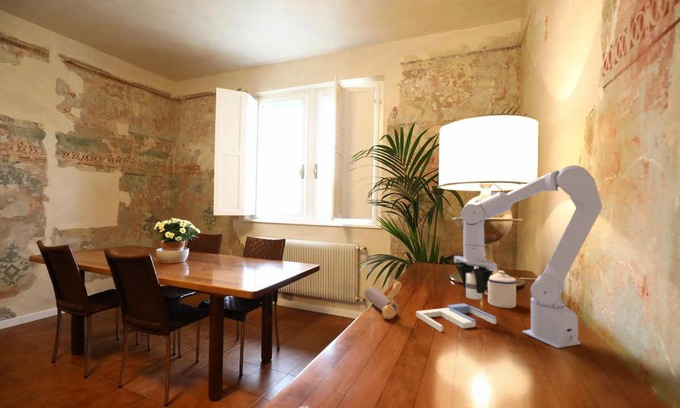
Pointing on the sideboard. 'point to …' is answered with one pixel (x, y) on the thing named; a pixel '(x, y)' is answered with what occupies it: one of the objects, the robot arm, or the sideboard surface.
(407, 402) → the sideboard surface
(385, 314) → the figurine
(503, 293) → the teacup with lid
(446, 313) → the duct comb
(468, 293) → the banded white cylinder
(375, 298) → the coil
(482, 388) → the sideboard surface
